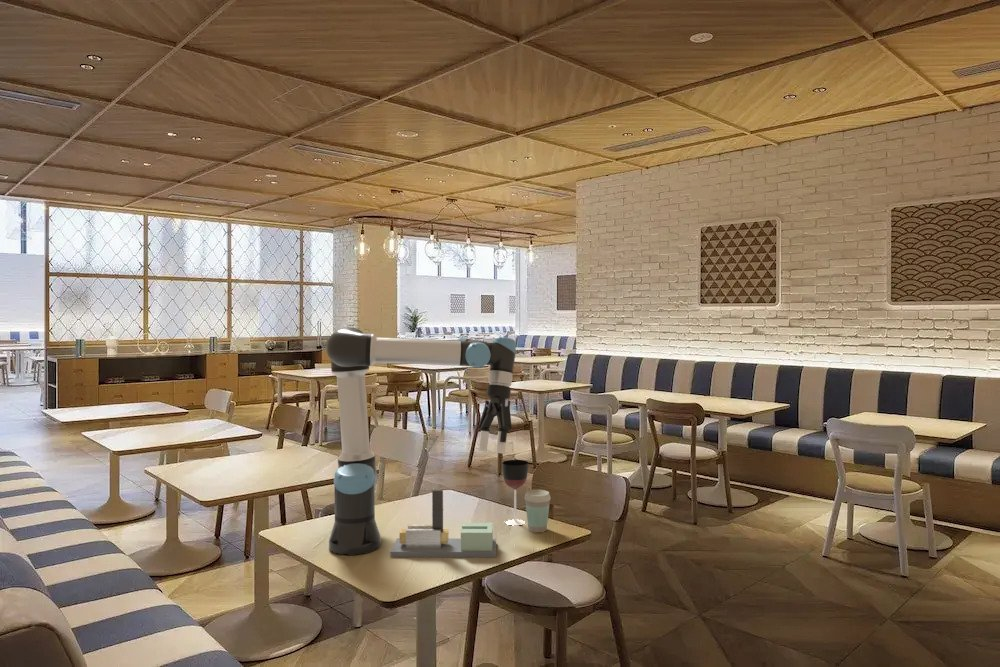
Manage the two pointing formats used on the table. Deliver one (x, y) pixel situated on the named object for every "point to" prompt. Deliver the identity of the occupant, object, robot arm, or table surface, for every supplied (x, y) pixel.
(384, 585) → the table surface
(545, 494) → the coffee cup
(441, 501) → the sliding bolt with handle
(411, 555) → the base board
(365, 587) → the table surface
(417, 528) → the steel sleeve
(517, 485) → the wineglass
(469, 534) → the socket block
